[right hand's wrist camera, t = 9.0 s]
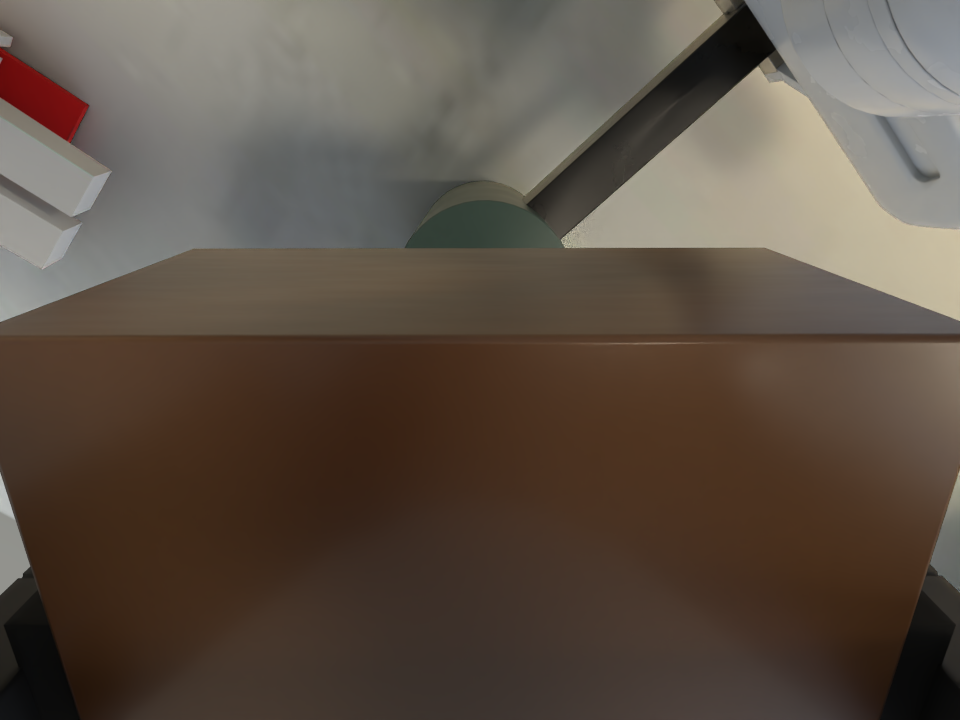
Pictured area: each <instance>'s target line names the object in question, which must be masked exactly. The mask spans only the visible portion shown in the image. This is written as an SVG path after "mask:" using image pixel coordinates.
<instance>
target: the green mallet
mask: <svg viewBox="0 0 960 720" xmlns="http://www.w3.org/2000/svg"><path fill="white" fill-rule="evenodd" d="M775 50H777V49H776V48H775V46H774V45H773V43H772V42H771V40H770V39H769V37H768V36H767V34H766V33H765V31H764V30H763V28H762V27H761V25H760V24H759V22H758V21H757V19H756V17H755V16H754V14H753V13H752V11H751V10H750V8H749V7H748V5H747V4H746V2H745V3H744V4H743V5H742V6H741V7H740V8H738V9H737V10H736V11H734V12H732V13H729V14H728V15H724V14H723V15H722V16H721V17H720V18H719V19H717V20H716V21H715V22H714V23H713V24H712V25H711V26H710V27H709V28H708V29H707V30H705V31H704V32H703V33H702V34H701V35H700V36H699V37H698V38H697V39H696V40H695V41H693V42H692V43H691V44H690V45H689V46H688V47H687V48H686V49H685V50H684V51H683V52H682V53H680V54H679V55H678V56H677V57H676V58H675V59H674V60H673V61H672V62H671V63H670V64H668V65H667V66H666V67H665V68H664V69H663V70H662V71H661V72H660V73H659V74H658V75H656V76H655V77H654V78H653V79H652V80H651V81H650V82H649V83H648V84H647V85H646V86H644V87H643V88H642V89H641V90H640V91H639V92H638V93H637V94H636V95H635V96H634V97H632V98H631V99H630V100H629V101H628V102H627V103H626V104H625V105H624V106H623V107H622V108H620V109H619V110H618V111H617V112H616V113H615V114H614V115H613V116H612V117H611V118H610V119H609V120H607V121H606V122H605V123H604V124H603V125H602V126H601V127H600V128H599V129H598V130H597V131H595V132H594V133H593V134H592V135H591V136H590V137H589V138H588V139H587V140H586V141H585V142H583V143H582V144H581V145H580V146H579V147H578V148H577V149H576V150H575V151H574V152H573V153H571V154H570V155H569V156H568V157H567V158H566V159H565V160H564V161H563V162H562V163H561V164H559V165H558V166H557V167H556V168H555V169H554V170H553V171H552V172H551V173H550V174H549V175H548V176H546V177H545V178H544V179H543V180H542V181H541V182H540V183H539V184H538V185H537V186H536V187H534V188H533V189H532V190H531V191H530V192H529V193H528V194H527V195H526V196H525V197H524V196H523V195H522V194H520V193H519V192H518V191H516V190H514V189H512V188H511V187H508V186H506V185H503V184H500V183H496V182H489V181H476V182H470V183H466V184H463V185H460V186H458V187H455V188H453V189H452V190H450V191H448V192H447V193H445V194H444V195H443V196H442V197H441V198H439V199H438V200H437V202H436V203H435V204H434V205H433V206H432V208H431V209H430V211H429V212H428V213H427V215H426V216H425V218H424V219H423V221H422V222H421V224H420V225H419V227H418V228H417V230H416V231H415V232H414V234H413V235H412V237H411V238H410V240H409V241H408V243H407V244H406V246H405V248H564V246H563V244H562V242H561V240H560V239H562V238H563V237H564V236H565V235H566V234H567V233H568V232H570V231H571V230H572V229H573V228H574V227H575V226H576V225H578V224H579V223H580V222H581V221H582V220H583V219H584V218H585V217H587V216H588V215H589V214H590V213H591V212H592V211H593V210H595V209H596V208H597V207H598V206H599V205H600V204H601V203H603V202H604V201H605V200H606V199H607V198H608V197H609V196H611V195H612V194H613V193H614V192H615V191H616V190H617V189H618V188H620V187H621V186H622V185H623V184H624V183H625V182H626V181H628V180H629V179H630V178H631V177H632V176H633V175H634V174H636V173H637V172H638V171H639V170H640V169H641V168H642V167H643V166H645V165H646V164H647V163H648V162H649V161H650V160H651V159H653V158H654V157H655V156H656V155H657V154H658V153H659V152H661V151H662V150H663V149H664V148H665V147H666V146H667V145H668V144H670V143H671V142H672V141H673V140H674V139H675V138H676V137H678V136H679V135H680V134H681V133H682V132H683V131H684V130H686V129H687V128H688V127H689V126H690V125H691V124H692V123H694V122H695V121H696V120H697V119H698V118H699V117H700V116H701V115H703V114H704V113H705V112H706V111H707V110H708V109H709V108H711V107H712V106H713V105H714V104H715V103H716V102H717V101H719V100H720V99H721V98H722V97H723V96H724V95H725V94H726V93H728V92H729V91H730V90H731V89H732V88H733V87H734V86H736V85H737V84H738V83H739V82H740V81H741V80H742V79H744V78H745V77H746V76H747V75H748V74H749V73H750V72H752V71H753V70H754V69H755V68H756V67H757V66H758V65H759V64H761V63H762V62H763V61H764V60H765V59H766V58H767V57H769V56H770V55H771V54H772V53H773V52H774V51H775Z"/></svg>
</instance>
